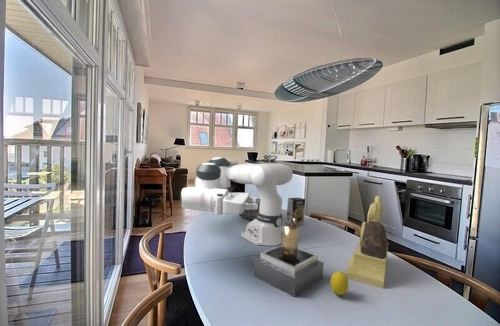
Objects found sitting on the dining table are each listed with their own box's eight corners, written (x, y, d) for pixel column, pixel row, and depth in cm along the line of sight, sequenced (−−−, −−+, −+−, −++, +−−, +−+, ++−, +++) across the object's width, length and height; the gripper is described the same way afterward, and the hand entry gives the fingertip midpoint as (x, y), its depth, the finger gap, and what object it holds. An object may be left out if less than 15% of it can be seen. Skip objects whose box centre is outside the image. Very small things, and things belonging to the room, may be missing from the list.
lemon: (326, 290, 87) (328, 267, 87) (342, 290, 88) (344, 267, 87) (333, 300, 82) (335, 276, 81) (350, 300, 82) (352, 276, 82)
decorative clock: (355, 252, 121) (361, 189, 119) (386, 260, 115) (392, 193, 113) (344, 277, 97) (351, 198, 95) (383, 288, 90) (390, 204, 88)
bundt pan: (226, 215, 173) (227, 200, 172) (255, 210, 191) (255, 196, 190) (253, 225, 154) (254, 209, 153) (282, 218, 172) (283, 203, 171)
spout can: (278, 259, 94) (280, 216, 93) (287, 255, 99) (289, 214, 97) (290, 265, 91) (293, 220, 90) (299, 260, 95) (302, 217, 94)
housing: (253, 275, 95) (254, 252, 94) (283, 261, 108) (284, 241, 107) (294, 297, 82) (296, 271, 82) (322, 278, 95) (324, 255, 95)
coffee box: (292, 226, 156) (293, 200, 155) (285, 223, 162) (287, 197, 160) (304, 224, 160) (305, 199, 159) (297, 221, 166) (299, 197, 165)
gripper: (227, 202, 107) (261, 205, 105) (214, 216, 86) (256, 219, 85) (228, 187, 106) (261, 190, 105) (215, 197, 86) (256, 200, 84)
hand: (259, 203), depth 94 cm, fingers open, 8 cm apart
